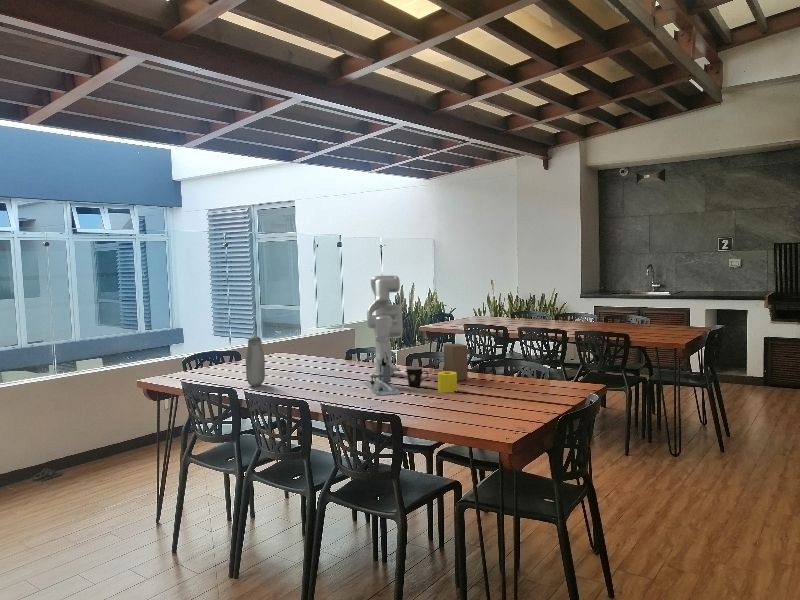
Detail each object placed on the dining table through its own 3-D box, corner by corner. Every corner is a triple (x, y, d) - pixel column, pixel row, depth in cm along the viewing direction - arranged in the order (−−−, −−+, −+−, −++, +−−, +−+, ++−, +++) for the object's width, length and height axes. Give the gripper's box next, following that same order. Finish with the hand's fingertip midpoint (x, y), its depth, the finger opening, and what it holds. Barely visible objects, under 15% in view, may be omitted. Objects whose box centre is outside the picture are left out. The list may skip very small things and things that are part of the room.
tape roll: (436, 389, 326) (436, 371, 325) (455, 388, 327) (454, 371, 326) (439, 393, 316) (439, 375, 315) (458, 392, 317) (458, 374, 316)
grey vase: (260, 387, 338) (259, 337, 336) (243, 387, 340) (241, 337, 338) (268, 384, 347) (266, 335, 346) (251, 383, 349) (249, 335, 348)
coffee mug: (403, 386, 334) (403, 368, 334) (413, 383, 341) (413, 366, 340) (419, 389, 326) (419, 370, 326) (429, 386, 333) (429, 368, 332)
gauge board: (384, 382, 345) (384, 372, 344) (399, 393, 316) (398, 382, 316) (363, 384, 342) (363, 373, 341) (376, 395, 313) (376, 384, 312)
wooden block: (467, 380, 348) (467, 345, 347) (452, 381, 344) (452, 346, 342) (458, 377, 357) (458, 343, 356) (444, 378, 353) (443, 344, 351)
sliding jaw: (388, 381, 334) (388, 364, 334) (390, 383, 330) (390, 365, 329) (372, 382, 332) (372, 365, 331) (374, 384, 327) (374, 366, 326)
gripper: (372, 337, 341) (373, 370, 342) (379, 341, 327) (380, 374, 328) (385, 337, 343) (386, 369, 344) (392, 340, 329) (393, 373, 330)
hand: (383, 371), depth 336 cm, fingers closed
